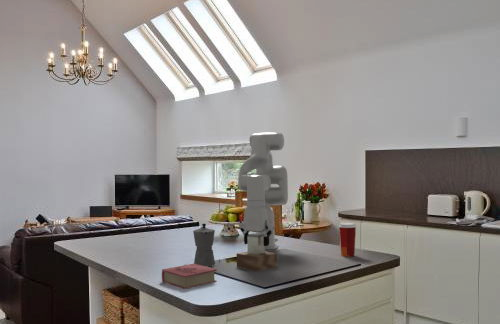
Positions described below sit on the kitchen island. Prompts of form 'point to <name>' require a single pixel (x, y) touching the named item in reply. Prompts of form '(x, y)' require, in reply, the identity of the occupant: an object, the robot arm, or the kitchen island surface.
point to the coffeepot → (204, 246)
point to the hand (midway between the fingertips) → (256, 244)
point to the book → (188, 275)
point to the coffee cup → (347, 239)
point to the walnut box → (257, 261)
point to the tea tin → (256, 244)
